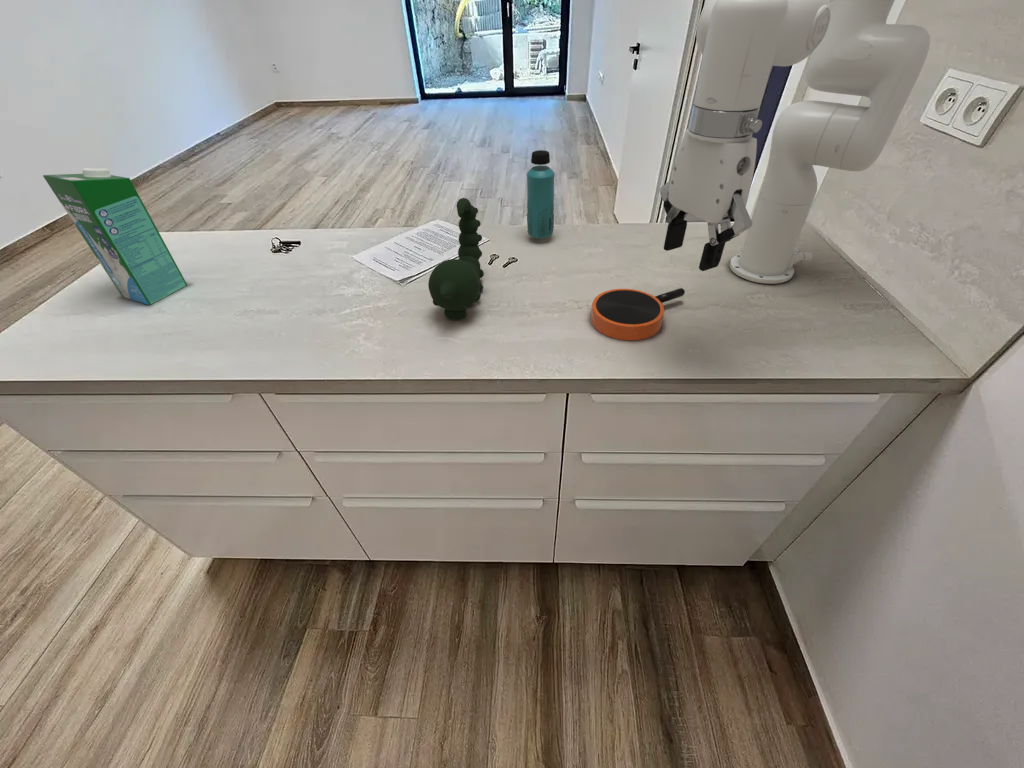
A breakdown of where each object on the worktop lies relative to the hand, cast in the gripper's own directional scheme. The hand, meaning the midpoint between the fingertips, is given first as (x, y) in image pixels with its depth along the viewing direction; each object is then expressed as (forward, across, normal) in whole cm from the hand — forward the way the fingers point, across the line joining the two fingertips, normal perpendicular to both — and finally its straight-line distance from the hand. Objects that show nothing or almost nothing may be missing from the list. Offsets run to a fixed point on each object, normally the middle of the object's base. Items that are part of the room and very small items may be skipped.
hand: (690, 257), depth 69 cm
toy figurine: (+18, +33, +24) cm, 45 cm away
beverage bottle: (+18, +51, -4) cm, 54 cm away
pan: (+18, +11, -4) cm, 21 cm away
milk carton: (+18, +70, +80) cm, 108 cm away
